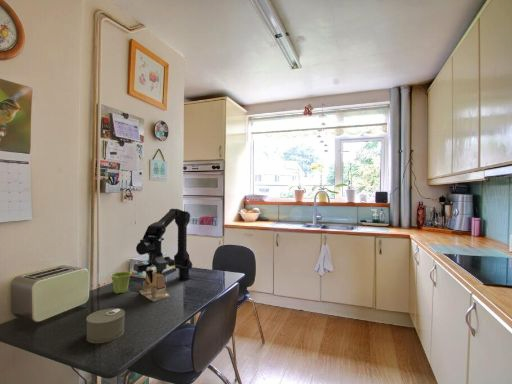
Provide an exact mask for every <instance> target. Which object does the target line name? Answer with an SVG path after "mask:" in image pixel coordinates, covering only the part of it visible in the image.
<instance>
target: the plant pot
mask: <svg viewBox="0 0 512 384" xmlns="http://www.w3.org/2000/svg"><path fill="white" fill-rule="evenodd" d="M131 275H132V273H131V272H130V271H120V272H119V271H118V272H115V273H112V274H110V277H111V280H112V286H113V293H115V294H124V293H126V292H127V291H128V289H129V283H130V277H131Z"/></svg>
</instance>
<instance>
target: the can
mask: <svg viewBox="0 0 512 384" xmlns="http://www.w3.org/2000/svg"><path fill="white" fill-rule="evenodd" d="M125 315H126V310H124V309H123V308H119V307H109V308H103V309H99V310H96V311H94V312H91V313H90V314H89V315H87V316H86V319H85V321H86V341H87V342H89V343H91V344H102V343H107V342H111V341H115V340H116V339H118V338H120V337H121V336H122V335H123V334H124V332H125Z"/></svg>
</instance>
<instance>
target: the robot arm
mask: <svg viewBox="0 0 512 384" xmlns="http://www.w3.org/2000/svg"><path fill="white" fill-rule="evenodd" d="M190 219H191V213H189V211H185V210H181V209H179V208H171V209H169V211H168V212H166V214H165V215H163V217H161V218H160V219H159V220H158V221H156V222H153V223H151V224H149V225H148V226H147V228H146V231H145V232H144V234H143V237H142V238H141V239H139V242H137V244H136V246H135V249H136V251H135V252H137V254H138V255H140V256H142V255H146V254H147V255H148V260H147V263H143V262H140V263H134V264H133V268H132V269H133V271H135V272H137V273H142V272H145V275H146V274H147V276H148V278H149V280H150V283H152V272H153V271H154V270H153V268H154V267H155V270H156V271H155V272H158V273H160V274H162V273H163V272H164V270H166V269H167V268H168V267H173V266H174V268H175V269H178V274H177V275H178V276H176V277H175V279H177V280H179V281H181V282H182V281H186V280H190V279H192V277H190V270H192V268H193V263H192V261H191V260H190V254H189V253H188V251H187V247H188V246H187V241H188V240H187V239H188V238H187V235H188V234H187V231H188V230H187V228H188V225H189V223H190ZM173 221H174V223H175V224H176V226H177V252H176V254H174V256H173V258H171V257H170V256H164V255H163V252H162V242H163V241H164V240H165V238H164V237H163V236H164V234H165V233H166V231H167V230H166V228H167V227H168V226H169V225H170V224H171V223H172V222H173ZM167 266H168V267H167ZM162 275H163V274H162Z"/></svg>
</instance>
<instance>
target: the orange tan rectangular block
mask: <svg viewBox="0 0 512 384" xmlns="http://www.w3.org/2000/svg"><path fill="white" fill-rule="evenodd" d="M145 282H147V283H149V284H151V285H152V286H155V287H156V288H162V287H164V284H165V275H164V274H160V273H158V272H156V271H155V270H153V272H152V283H150V280H149V278H148V276H147V274H146V273H145Z"/></svg>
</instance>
